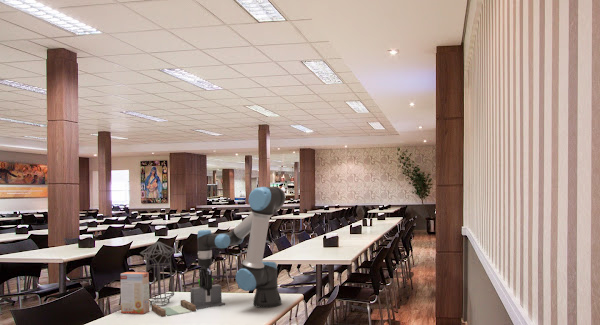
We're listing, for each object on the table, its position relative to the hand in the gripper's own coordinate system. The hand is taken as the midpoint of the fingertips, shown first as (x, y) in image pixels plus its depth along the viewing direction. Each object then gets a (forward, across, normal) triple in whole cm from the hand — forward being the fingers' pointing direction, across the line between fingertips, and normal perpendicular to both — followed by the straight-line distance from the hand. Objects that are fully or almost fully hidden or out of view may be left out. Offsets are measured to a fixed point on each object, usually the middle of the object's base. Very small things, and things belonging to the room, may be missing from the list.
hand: (206, 300), depth 282 cm
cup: (+2, -16, +6) cm, 17 cm away
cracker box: (+3, -9, -36) cm, 37 cm away
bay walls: (+2, +2, -19) cm, 19 cm away
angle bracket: (+2, +2, 0) cm, 3 cm away
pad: (+2, +2, -19) cm, 19 cm away
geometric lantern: (+2, -20, -20) cm, 28 cm away
